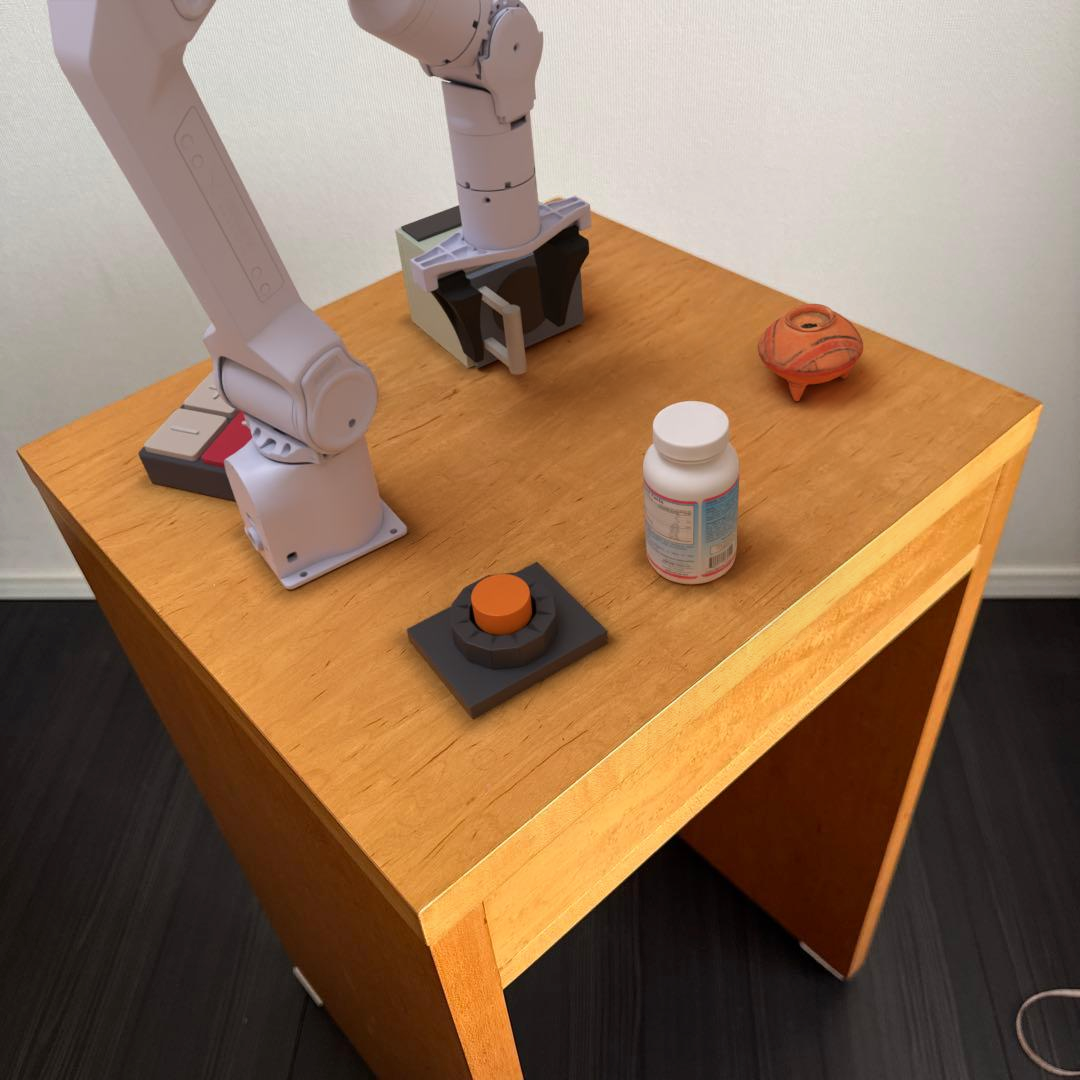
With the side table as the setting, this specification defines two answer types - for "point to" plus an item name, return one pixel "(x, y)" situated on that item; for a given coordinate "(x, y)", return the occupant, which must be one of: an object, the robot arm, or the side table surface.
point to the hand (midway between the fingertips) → (514, 338)
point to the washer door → (517, 311)
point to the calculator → (197, 444)
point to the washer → (424, 305)
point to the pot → (810, 346)
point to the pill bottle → (691, 494)
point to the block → (506, 644)
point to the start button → (501, 604)
